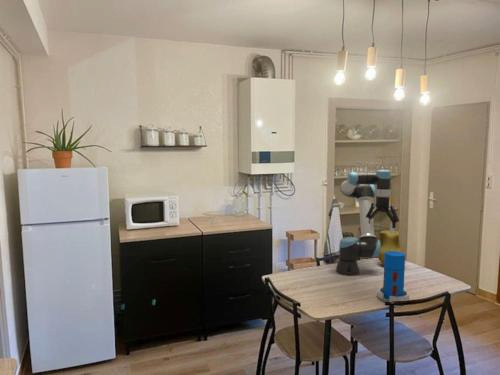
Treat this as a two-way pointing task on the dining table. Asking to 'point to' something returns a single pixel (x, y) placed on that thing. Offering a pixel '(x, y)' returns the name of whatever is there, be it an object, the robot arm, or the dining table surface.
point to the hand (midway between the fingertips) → (381, 231)
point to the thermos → (393, 274)
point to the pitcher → (388, 243)
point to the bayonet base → (392, 298)
